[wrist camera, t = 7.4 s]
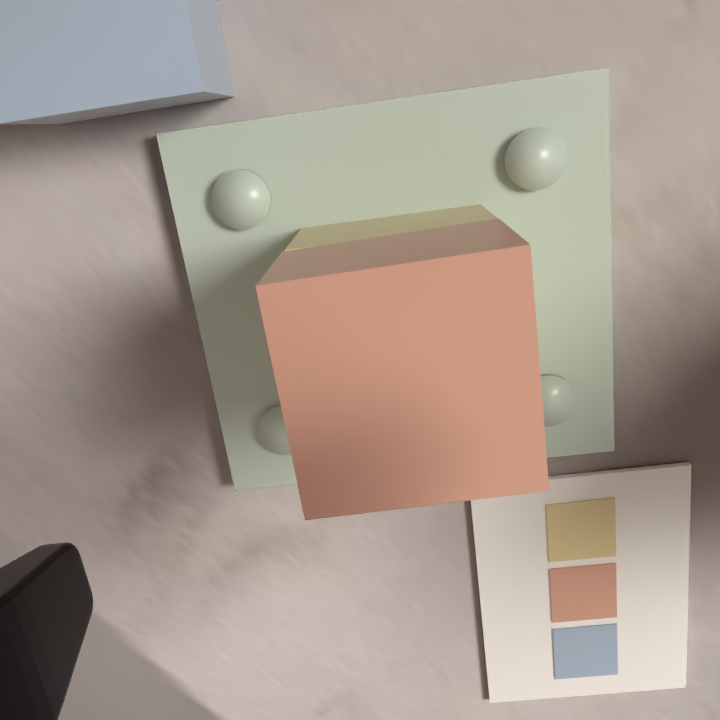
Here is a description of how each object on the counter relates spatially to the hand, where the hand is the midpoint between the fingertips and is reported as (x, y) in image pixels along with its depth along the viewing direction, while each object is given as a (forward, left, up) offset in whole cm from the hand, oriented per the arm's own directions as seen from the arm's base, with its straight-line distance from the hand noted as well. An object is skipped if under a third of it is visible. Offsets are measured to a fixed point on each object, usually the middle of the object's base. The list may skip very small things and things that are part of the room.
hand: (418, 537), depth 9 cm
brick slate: (+6, -9, -13) cm, 17 cm away
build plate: (0, 0, -12) cm, 12 cm away
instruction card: (-5, +11, -12) cm, 17 cm away
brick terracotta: (0, 0, -8) cm, 8 cm away
